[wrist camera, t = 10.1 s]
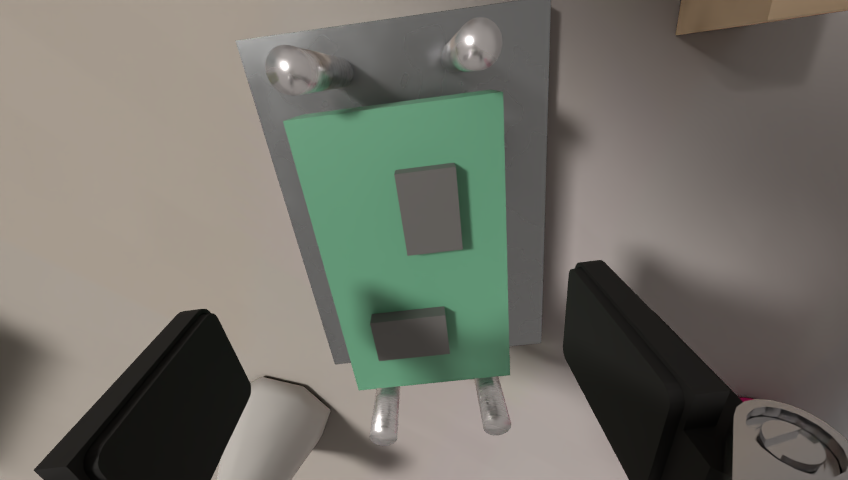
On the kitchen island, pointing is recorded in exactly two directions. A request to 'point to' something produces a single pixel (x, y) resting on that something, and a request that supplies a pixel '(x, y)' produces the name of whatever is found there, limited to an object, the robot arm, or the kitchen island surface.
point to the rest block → (747, 12)
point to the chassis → (409, 80)
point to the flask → (273, 432)
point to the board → (412, 233)
